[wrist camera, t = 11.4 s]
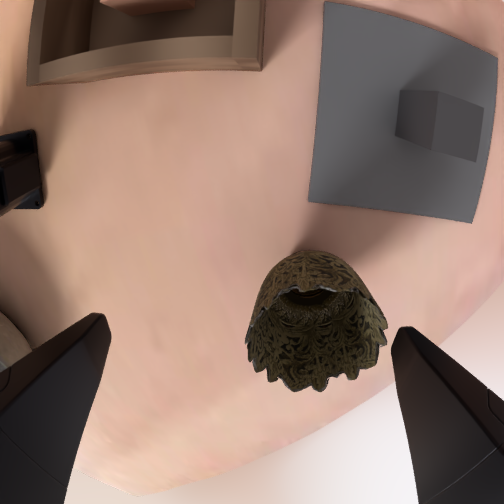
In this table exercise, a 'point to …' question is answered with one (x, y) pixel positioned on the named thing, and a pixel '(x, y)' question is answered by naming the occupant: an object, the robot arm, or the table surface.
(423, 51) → the lid
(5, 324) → the bowl
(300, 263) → the cup
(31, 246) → the table surface
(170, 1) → the terracotta cube
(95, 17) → the walnut box
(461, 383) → the robot arm
